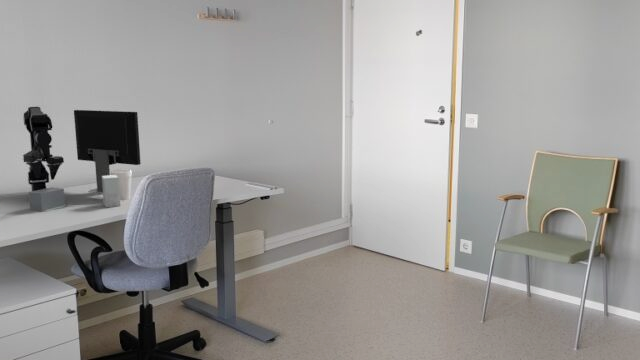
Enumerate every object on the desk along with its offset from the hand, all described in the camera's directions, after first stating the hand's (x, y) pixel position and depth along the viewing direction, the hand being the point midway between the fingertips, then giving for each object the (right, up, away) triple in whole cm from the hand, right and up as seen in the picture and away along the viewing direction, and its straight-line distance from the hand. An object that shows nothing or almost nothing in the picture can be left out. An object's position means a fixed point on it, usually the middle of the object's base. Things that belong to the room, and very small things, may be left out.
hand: (45, 178), depth 266 cm
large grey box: (0, -13, +2) cm, 13 cm away
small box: (+27, -12, +7) cm, 30 cm away
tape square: (0, -13, +2) cm, 13 cm away
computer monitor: (+15, -7, +37) cm, 40 cm away
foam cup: (+27, -9, +21) cm, 36 cm away
